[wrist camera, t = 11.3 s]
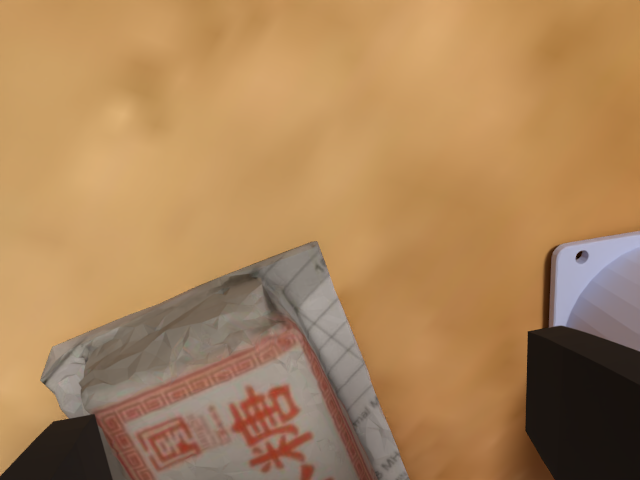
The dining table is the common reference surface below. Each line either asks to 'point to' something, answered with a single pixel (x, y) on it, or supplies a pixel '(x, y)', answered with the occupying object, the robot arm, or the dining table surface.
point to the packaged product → (232, 382)
